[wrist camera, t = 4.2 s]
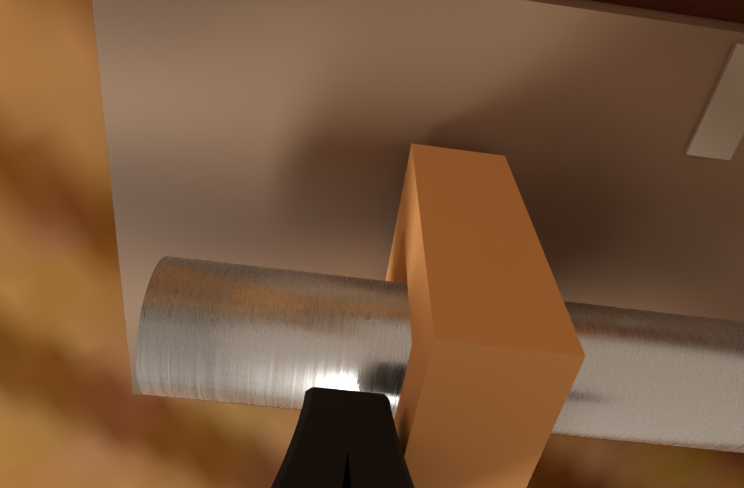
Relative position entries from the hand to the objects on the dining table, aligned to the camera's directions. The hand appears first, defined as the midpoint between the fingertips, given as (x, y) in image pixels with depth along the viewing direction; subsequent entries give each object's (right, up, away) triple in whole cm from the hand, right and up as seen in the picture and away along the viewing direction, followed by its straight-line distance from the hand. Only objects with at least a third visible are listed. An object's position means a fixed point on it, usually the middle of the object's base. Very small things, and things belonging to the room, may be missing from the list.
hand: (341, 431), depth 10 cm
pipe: (+5, +1, +3) cm, 6 cm away
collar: (+2, +3, +4) cm, 5 cm away
